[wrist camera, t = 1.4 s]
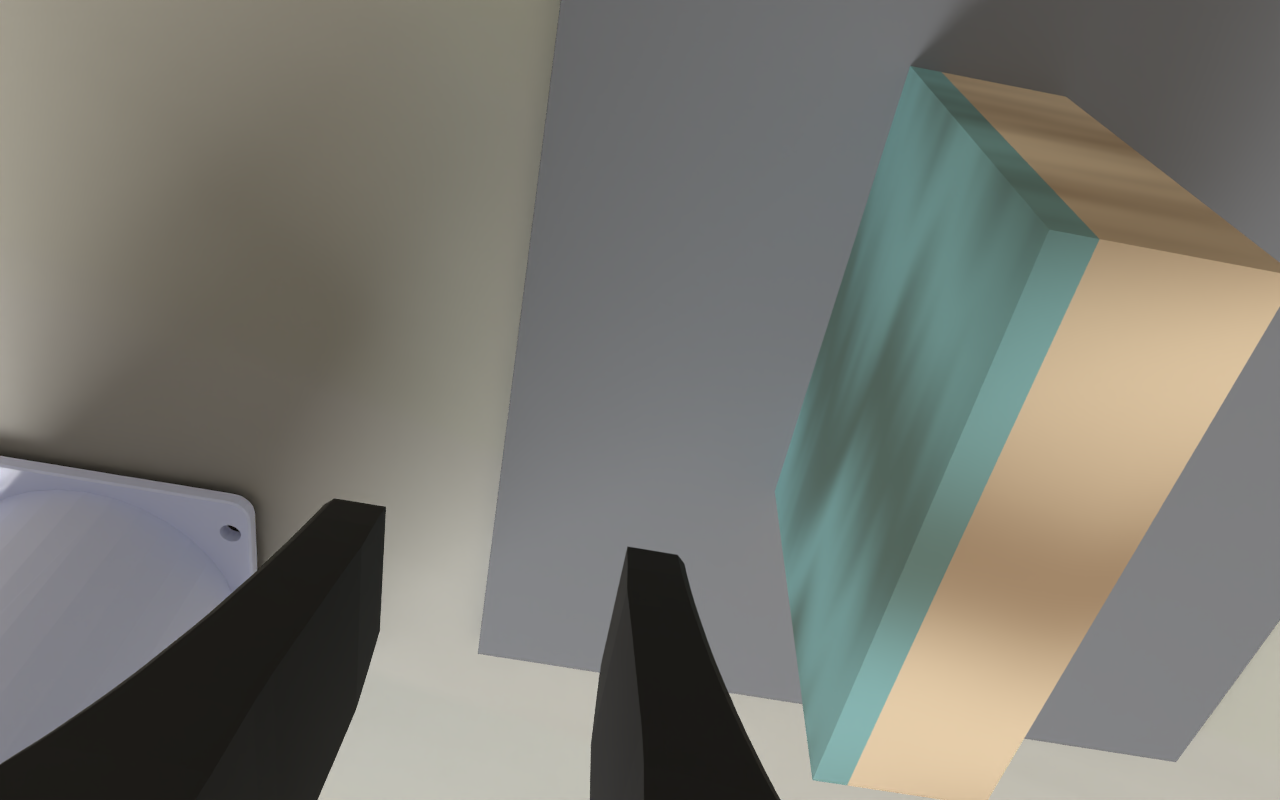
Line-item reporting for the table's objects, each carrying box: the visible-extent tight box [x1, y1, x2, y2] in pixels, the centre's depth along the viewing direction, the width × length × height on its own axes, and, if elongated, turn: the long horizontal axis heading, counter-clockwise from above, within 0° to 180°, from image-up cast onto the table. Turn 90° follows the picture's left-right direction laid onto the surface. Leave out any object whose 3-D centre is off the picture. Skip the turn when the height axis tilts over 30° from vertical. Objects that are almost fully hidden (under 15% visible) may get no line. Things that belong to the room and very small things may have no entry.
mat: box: [478, 0, 1280, 762], centre depth 21 cm, size 24×20×1 cm
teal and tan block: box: [775, 66, 1280, 800], centre depth 17 cm, size 10×3×8 cm, turn 170°
